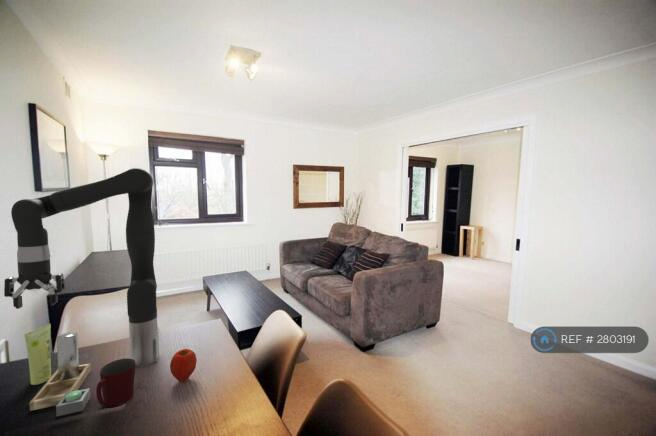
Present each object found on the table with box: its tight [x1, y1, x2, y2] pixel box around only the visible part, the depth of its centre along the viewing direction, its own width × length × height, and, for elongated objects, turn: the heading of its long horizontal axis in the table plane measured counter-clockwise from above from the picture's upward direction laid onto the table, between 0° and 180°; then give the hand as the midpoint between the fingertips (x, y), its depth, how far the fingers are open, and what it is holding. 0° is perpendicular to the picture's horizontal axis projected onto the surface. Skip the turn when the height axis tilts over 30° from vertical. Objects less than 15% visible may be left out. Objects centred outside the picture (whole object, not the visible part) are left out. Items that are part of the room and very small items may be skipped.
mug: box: [95, 357, 136, 409], centre depth 87 cm, size 12×9×11 cm
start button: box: [66, 389, 82, 403], centre depth 84 cm, size 4×4×3 cm
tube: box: [24, 323, 52, 386], centre depth 95 cm, size 6×5×20 cm
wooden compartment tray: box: [29, 362, 92, 412], centre depth 92 cm, size 9×18×4 cm, turn 24°
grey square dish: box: [55, 387, 91, 420], centre depth 84 cm, size 6×6×4 cm
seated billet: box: [56, 331, 80, 381], centre depth 95 cm, size 5×5×16 cm
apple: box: [169, 348, 197, 383], centre depth 98 cm, size 9×8×11 cm
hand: (36, 306), depth 94 cm, fingers open, 8 cm apart
